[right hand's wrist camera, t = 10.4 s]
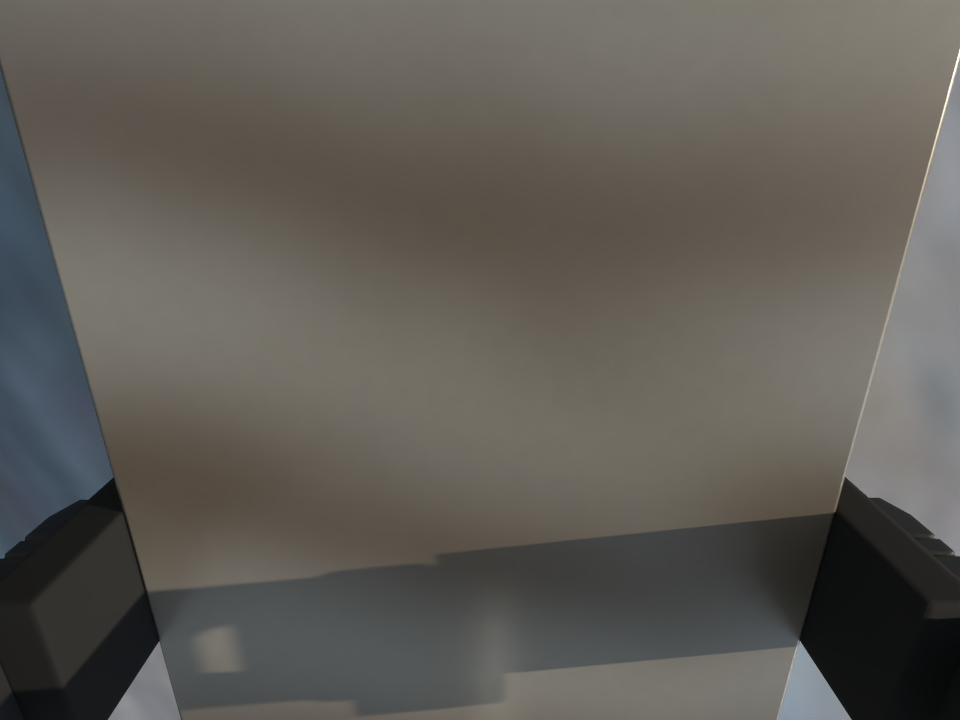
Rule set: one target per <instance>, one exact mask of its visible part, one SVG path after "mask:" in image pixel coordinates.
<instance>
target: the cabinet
mask: <svg viewBox="0 0 960 720" xmlns="http://www.w3.org/2000/svg"><path fill="white" fill-rule="evenodd" d="M959 61H960V0H0V69H1V73H2V76H3V80H4V83H5V87H6V91H7V94H8V98H9V101H10V105H11V109H12V112H13V116H14V119H15V123H16V127H17V130H18V134H19V137H20V141H21V145H22V148H23V152H24V155H25V159H26V163H27V166H28V170H29V173H30V177H31V181H32V184H33V188H34V191H35V195H36V199H37V202H38V206H39V209H40V213H41V217H42V220H43V224H44V227H45V231H46V235H47V238H48V242H49V245H50V249H51V253H52V256H53V260H54V263H55V267H56V271H57V274H58V278H59V281H60V285H61V289H62V292H63V296H64V299H65V303H66V307H67V310H68V314H69V317H70V321H71V325H72V328H73V332H74V335H75V339H76V343H77V346H78V350H79V353H80V357H81V361H82V364H83V368H84V371H85V375H86V379H87V382H88V386H89V389H90V393H91V397H92V400H93V404H94V407H95V411H96V415H97V418H98V422H99V425H100V429H101V433H102V436H103V440H104V443H105V447H106V451H107V454H108V458H109V461H110V465H111V469H112V472H113V476H114V479H115V483H116V487H117V490H118V494H119V497H120V501H121V505H122V508H123V512H124V515H125V519H126V523H127V526H128V530H129V533H130V537H131V541H132V544H133V548H134V551H135V555H136V559H137V562H138V566H139V569H140V573H141V577H142V580H143V584H144V587H145V591H146V595H147V598H148V602H149V605H150V609H151V613H152V616H153V620H154V623H155V627H156V631H157V634H158V638H159V641H160V645H161V649H162V652H163V656H164V659H165V663H166V667H167V670H168V674H169V677H170V681H171V685H172V688H173V692H174V695H175V699H176V703H177V706H178V710H179V713H180V717H181V720H778V718H779V715H780V711H781V708H782V704H783V700H784V697H785V693H786V689H787V686H788V682H789V679H790V675H791V671H792V668H793V664H794V660H795V657H796V653H797V649H798V646H799V642H800V639H801V635H802V631H803V628H804V624H805V620H806V617H807V613H808V610H809V606H810V602H811V599H812V595H813V591H814V588H815V584H816V580H817V577H818V573H819V570H820V566H821V562H822V559H823V555H824V551H825V548H826V544H827V541H828V537H829V533H830V530H831V526H832V522H833V519H834V515H835V511H836V508H837V504H838V501H839V497H840V493H841V490H842V486H843V482H844V479H845V475H846V472H847V468H848V464H849V461H850V457H851V453H852V450H853V446H854V443H855V439H856V435H857V432H858V428H859V424H860V421H861V417H862V413H863V410H864V406H865V403H866V399H867V395H868V392H869V388H870V384H871V381H872V377H873V374H874V370H875V366H876V363H877V359H878V355H879V352H880V348H881V344H882V341H883V337H884V334H885V330H886V326H887V323H888V319H889V315H890V312H891V308H892V305H893V301H894V297H895V294H896V290H897V286H898V283H899V279H900V275H901V272H902V268H903V265H904V261H905V257H906V254H907V250H908V246H909V243H910V239H911V236H912V232H913V228H914V225H915V221H916V217H917V214H918V210H919V206H920V203H921V199H922V196H923V192H924V188H925V185H926V181H927V177H928V174H929V170H930V167H931V163H932V159H933V156H934V152H935V148H936V145H937V141H938V138H939V134H940V130H941V127H942V123H943V119H944V116H945V112H946V108H947V105H948V101H949V98H950V94H951V90H952V87H953V83H954V79H955V76H956V72H957V69H958V65H959Z"/></svg>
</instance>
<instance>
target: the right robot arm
mask: <svg viewBox="0 0 960 720" xmlns="http://www.w3.org/2000/svg"><path fill="white" fill-rule="evenodd" d="M800 641H801V643H802V644H803V646H804V647H805V649H806V650H807V652H808V653H809V655H810V657H811V658H812V660H813V661H814V663H815V664H816V666H817V667H818V669H819V670H820V672H821V673H822V675H823V676H824V678H825V679H826V681H827V682H828V684H829V686H830V687H831V689H832V690H833V692H834V693H835V695H836V696H837V698H838V699H839V701H840V702H841V704H842V705H843V707H844V708H845V710H846V711H847V713H848V715H849V716H850V718H851V719H852V720H960V556H955V552H954V551H953V550H952V549H951V548H949V547H948V546H947V545H946V544H945V543H943V542H942V541H941V540H940V539H935V535H934V534H933V533H932V532H930V531H929V530H928V529H927V528H926V527H924V526H923V525H922V524H921V523H920V522H919V521H917V520H916V519H915V518H914V517H913V516H911V515H910V514H908V513H906V512H904V511H903V510H901V509H899V508H897V507H895V506H893V505H892V504H890V503H888V502H886V501H884V500H882V499H881V498H868V497H867V496H866V495H865V494H864V493H863V492H861V491H860V490H859V489H858V488H857V487H856V486H855V485H854V484H852V483H851V482H850V481H849V480H848V479H847V478H846V477H845V479H844V482H843V486H842V490H841V493H840V497H839V501H838V504H837V508H836V511H835V515H834V519H833V522H832V526H831V530H830V533H829V537H828V541H827V544H826V548H825V551H824V555H823V559H822V562H821V566H820V570H819V573H818V577H817V580H816V584H815V588H814V591H813V595H812V599H811V602H810V606H809V610H808V613H807V617H806V620H805V624H804V628H803V631H802V635H801V639H800ZM158 642H159V638H158V634H157V631H156V627H155V623H154V620H153V616H152V613H151V609H150V605H149V602H148V598H147V595H146V591H145V587H144V584H143V580H142V577H141V573H140V569H139V566H138V562H137V559H136V555H135V551H134V548H133V544H132V541H131V537H130V533H129V530H128V526H127V523H126V519H125V515H124V512H123V508H122V505H121V501H120V497H119V494H118V490H117V487H116V483H115V479H114V478H112V479H111V480H110V481H109V482H108V483H107V484H106V485H105V486H104V487H102V488H101V489H100V490H99V491H98V492H97V493H96V494H95V495H93V496H92V497H91V498H90V499H89V500H79V501H77V502H75V503H74V504H72V505H70V506H68V507H66V508H65V509H63V510H61V511H59V512H57V513H56V514H54V515H52V516H50V517H49V518H47V519H46V520H45V521H44V522H43V523H41V524H40V525H39V526H38V527H37V528H36V529H34V530H33V531H32V532H31V533H30V534H29V535H27V536H26V537H25V541H20V542H19V543H18V544H17V545H16V546H14V547H13V548H12V549H11V550H10V551H8V552H7V553H6V554H5V558H4V559H0V720H108V718H109V717H110V715H111V714H112V712H113V711H114V709H115V708H116V706H117V705H118V703H119V701H120V700H121V698H122V697H123V695H124V694H125V692H126V691H127V689H128V688H129V686H130V685H131V683H132V682H133V680H134V679H135V677H136V675H137V674H138V672H139V671H140V669H141V668H142V666H143V665H144V663H145V662H146V660H147V659H148V657H149V656H150V654H151V653H152V651H153V650H154V648H155V646H156V645H157V643H158Z"/></svg>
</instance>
